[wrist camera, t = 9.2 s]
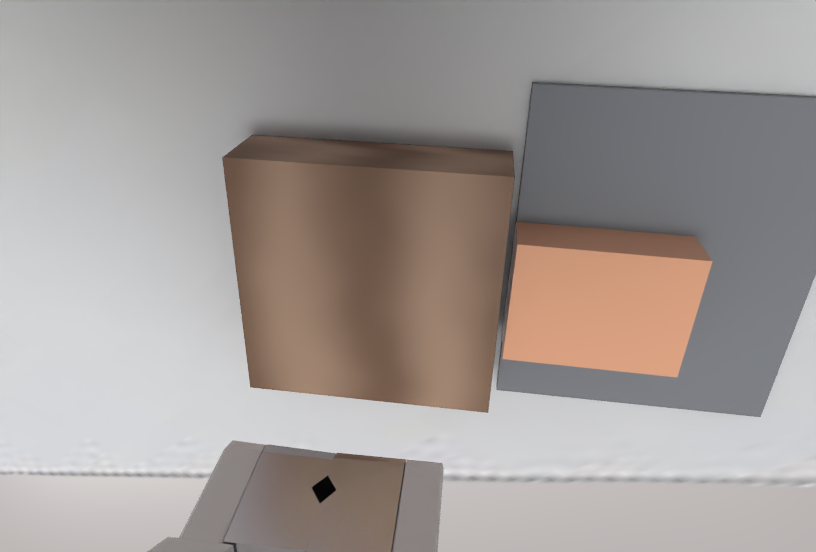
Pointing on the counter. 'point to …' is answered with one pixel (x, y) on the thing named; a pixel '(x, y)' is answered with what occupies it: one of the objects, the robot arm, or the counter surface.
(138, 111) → the counter surface
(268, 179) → the brown wooden square block
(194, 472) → the counter surface
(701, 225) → the rubber mat
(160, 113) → the counter surface
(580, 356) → the terracotta tile
